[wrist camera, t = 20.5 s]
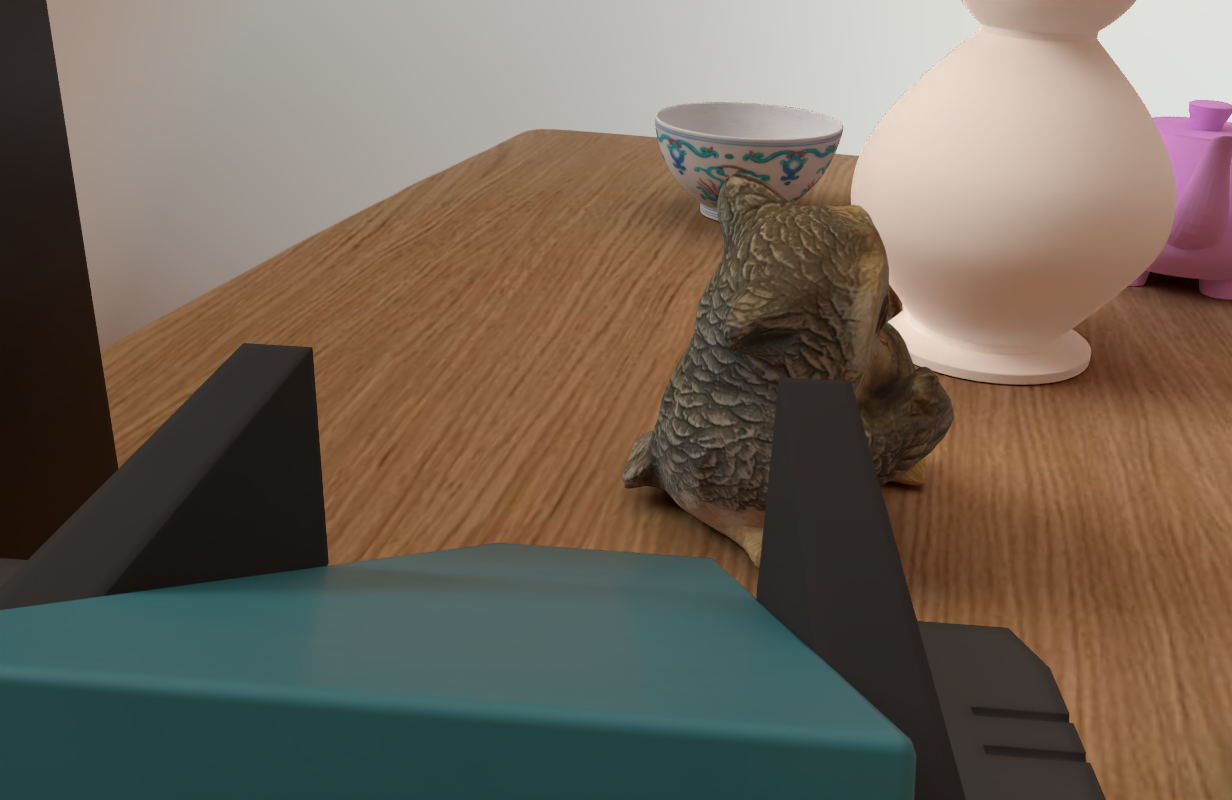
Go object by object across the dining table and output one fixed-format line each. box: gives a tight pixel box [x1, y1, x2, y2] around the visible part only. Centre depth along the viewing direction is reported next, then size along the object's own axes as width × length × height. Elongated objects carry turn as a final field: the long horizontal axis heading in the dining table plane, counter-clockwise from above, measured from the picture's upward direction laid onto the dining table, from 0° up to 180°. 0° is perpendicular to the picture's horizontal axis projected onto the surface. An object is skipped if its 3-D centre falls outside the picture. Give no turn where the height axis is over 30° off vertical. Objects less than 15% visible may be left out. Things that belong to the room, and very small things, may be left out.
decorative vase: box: [851, 0, 1176, 385], centre depth 66 cm, size 18×18×25 cm
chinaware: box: [655, 102, 843, 221], centre depth 95 cm, size 15×15×8 cm
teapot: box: [1129, 100, 1232, 299], centre depth 83 cm, size 20×14×12 cm
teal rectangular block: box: [0, 543, 916, 800], centre depth 16 cm, size 4×22×5 cm
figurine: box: [622, 173, 954, 568], centre depth 48 cm, size 14×15×15 cm
